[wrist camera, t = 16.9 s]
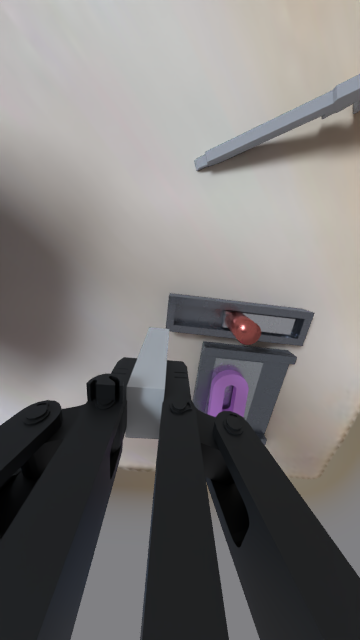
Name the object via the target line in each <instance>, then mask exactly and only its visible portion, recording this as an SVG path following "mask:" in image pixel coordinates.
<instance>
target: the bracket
mask: <svg viewBox="0 0 360 640" xmlns="http://www.w3.org/2000/svg"><path fill="white" fill-rule="evenodd" d="M230 385H233V386H234V387H233V393H232V399H231V405H230V407H229V408H228V409H222V405H223V399H224V392H225V388H226V387H227V386H230ZM248 390H249V388H248V384H247V382H246V380H245V379H244V377H243V376H242V375H241V374H240V373H239V372H237V371H235V370H224V371H221V372H219V373H218V374H217V375H216V376H215V377H214V378H213V380H212V383H211V390H210V398H209V405H208V413H207V414H208V415H211V416H214V417H216V416H217V415H218V413H220V412H222V411H231V412H234V413H237V414H239V415H240V416H242V417H244V412H245V407H246V401H247V396H248Z"/></svg>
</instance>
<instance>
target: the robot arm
mask: <svg viewBox="0 0 360 640" xmlns="http://www.w3.org/2000/svg"><path fill="white" fill-rule="evenodd" d="M168 339H169V329H163V328H153V327H149V330H148V333H147V335H146V338H145V340H144V343H143V345H142V348H141V351H140V353H139V356H138V358H125V357H124V358H122V359H121V360H120V361H118V362H117V364H116V366H115V367H114V369H113V371H112V373H111V374H102V375H98V376H96V377H94V378H92V379H91V380H89V381H88V382H87V383H86V384H87V399H88V401H87V403H86V404H84V405H81V406H77V407H72V408H66V409H61V406H60V404H59V403H58V402H56V401H50V400H47V401H41V402H37V403H35V404H32V405H30V406H28V407H26V408H24V409H23V410H21V411H20V412H18V413H17V414H16V415H14V416H13V417H11V418H10V419H9V420H7V421H6V422H5V423H3V424H2V425H0V640H70V639H71V635H72V632H73V628H74V624H75V621H76V617H77V613H78V609H79V606H80V602H81V599H82V595H83V591H84V588H85V584H86V581H87V577H88V573H89V569H90V566H91V562H92V559H93V555H94V551H95V548H96V544H97V540H98V537H99V533H100V530H101V526H102V522H103V518H104V515H105V511H106V508H107V504H108V500H109V497H110V493H111V490H112V486H113V482H114V479H115V475H116V471H117V468H118V464H119V460H120V457H121V453H122V446H123V438H124V434H125V431H126V437H128V438H148V439H159V441H158V451H157V460H156V472H155V473H156V474H155V484H154V494H153V507H152V516H151V527H150V539H149V549H148V560H147V571H146V582H145V593H144V604H143V617H142V626H141V637H140V640H229V637H228V630H227V624H226V617H225V610H224V603H223V596H222V589H221V583H220V575H219V569H218V561H217V555H216V548H215V541H214V534H213V527H212V520H211V513H210V506H209V499H208V492H207V485H208V488H209V491H210V494H211V497H212V500H213V503H214V506H215V509H216V512H217V515H218V518H219V520H220V523H221V526H222V529H223V532H224V535H225V538H226V541H227V544H228V547H229V550H230V553H231V556H232V559H233V562H234V565H235V567H236V571H237V573H238V576H239V579H240V582H241V585H242V588H243V591H244V594H245V597H246V600H247V603H248V606H249V609H250V612H251V615H252V618H253V620H254V623H255V626H256V629H257V632H258V635H259V638H260V640H360V578H359V576H358V575H357V574H356V572H355V571H354V569H353V568H352V567H351V565H350V564H349V562H348V561H347V560H346V558H345V557H344V555H343V554H342V553H341V551H340V550H339V548H338V547H337V546H336V544H335V543H334V541H333V540H332V539H331V537H329V535H328V534H327V532H326V530H325V529H324V528H323V526H322V525H321V523H320V522H319V521H318V519H317V518H316V516H315V515H314V514H313V512H312V511H311V509H310V508H309V507H308V505H307V504H306V502H305V501H304V500H303V498H302V497H301V496H300V494H299V493H298V491H297V490H296V489H295V488H294V486H293V484H292V483H291V482H290V480H289V479H288V477H287V476H286V475H285V473H284V472H283V470H282V469H281V468H280V466H279V465H278V464H277V462H276V461H275V459H274V458H273V457H272V455H271V454H270V452H269V451H268V450H267V448H266V447H265V445H264V444H263V443H262V441H261V440H260V438H259V437H258V436H257V434H256V433H255V431H254V430H253V429H252V427H251V426H250V425H249V423H248V422H247V421H246V420H245V419H244V418H243V417H242V416H240V415H239V414H237V413H234V412H231V411H222V412H220V413H218V415H217V416H216V417H214V416H211V415H208V414H206V413H203V412H201V411H200V410H198V409H197V408H196V407H195V406H194V403H193V402H192V400H191V395H190V387H189V379H188V371H187V366H186V365H185V364H184V362H181V361H169V360H167V352H168ZM206 482H207V485H206Z"/></svg>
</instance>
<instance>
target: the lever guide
mask: <svg viewBox="0 0 360 640" xmlns="http://www.w3.org/2000/svg"><path fill="white" fill-rule="evenodd" d="M224 310H232V311H240V312H249V313H257V314H266V315H275V316H283V317H292V318H294V319H295V322H294V325H293V328H292V331H291V334H290V335H287V334H279V333H270V332H261V336H260V338H259V339H258V341H262V342H272V343H281V344H290V345H299V346H303V343H304V340H305V337H306V335H307V332H308V329H309V327H310V324H311V321H312V318H313V316H314V313H313V312H310V311H307V310H304V309H300V308H291V307H283V306H274V305H266V304H258V303H249V302H241V301H232V300H224V299H215V298H207V297H199V296H190V295H182V294H173V293H170V295H169V302H168V312H167V322H166V329H169V331H172V332H181V333H190V334H199V335H208V336H217V337H226V338H235V339H237V338H236V337H235V336H234V335H233V333H232V332H231V331H230V330H229V328H225V327H222V325H221V324H222V319H223V314H224Z"/></svg>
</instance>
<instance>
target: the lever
mask: <svg viewBox="0 0 360 640" xmlns="http://www.w3.org/2000/svg"><path fill="white" fill-rule="evenodd" d="M294 322H295V319H294V318H292V317H283V316H275V315H266V314H257V313H249V312H240V311H232V310H224V314H223V319H222V324H221V325H222V327H225V328H229V330H230V331H231V332H232V333H233V335H234V336H235V337H236V338H237V340H238V341H239V342H240V343H242V344H244V345H251V344H253V343H255V342H256V341H258V339H259V338H260V336H261V332H270V333H279V334H287V335H290V334H291V331H292V328H293V325H294Z"/></svg>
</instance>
